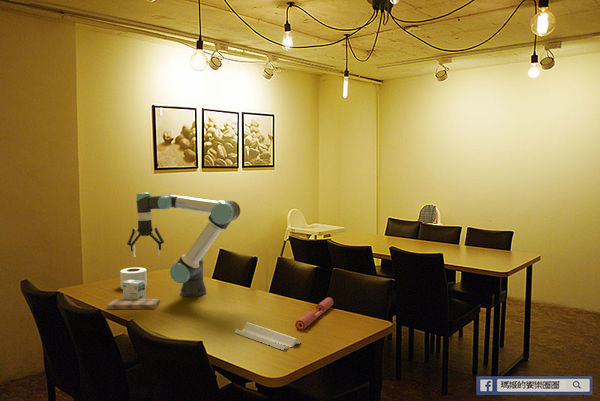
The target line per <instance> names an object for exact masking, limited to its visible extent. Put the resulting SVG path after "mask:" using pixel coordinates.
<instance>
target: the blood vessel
mask: <svg viewBox="0 0 600 401" xmlns="http://www.w3.org/2000/svg"><path fill="white" fill-rule="evenodd" d="M333 305H334V300H333V298H332V297H326V298H324V300H322V301H321V302H319V303H318V304H317V305H316V306H315V309H313V310H312V311H308V312H306V313H305V314H304V315H303V316H302V317H300V318H299V319H298V320H296V322H295V324H294V326H295V328H296V329H297V330H299V331H303V330H305V329H306V328H307V327H308V326H310V325H311V324H312V323H313V322H314V321H316V320H317V319H318V318H319V317H320V316H322V315H323V314H324V313H325V312H327V310H329V309H330V308H331V307H332V306H333Z"/></svg>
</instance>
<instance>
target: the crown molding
mask: <svg viewBox="0 0 600 401" xmlns="http://www.w3.org/2000/svg"><path fill="white" fill-rule="evenodd" d="M233 333H234V334H238V335H240V336H242V337H245V338H248V339H251V340H254V341H256V342H259V343H261V342H262V344H264V345H266V346H269V345H270V347H273V348H276V349H278V350H280V349H281V351H285V350H288V349H287V347H286V346H289V347H292V348H293V347H294V346H295V345H297V344H298V345H301V344H302V342H301V341H300V340H299V339H298V338H296V337H294V336H290V335H288V334H285V333H281V332H279V331H275V330H273V329H270V328H266V327H263V326H261V325H257V324H254V323H251V322H248V321H247V322H246V323H245V325H244V327H243V328H242V329H238V328H236V329H235V330H234V332H233ZM275 342H276V343H275ZM278 343H279V344H278ZM300 343H301V344H300ZM281 344H282V345H281ZM283 345H286V346H283ZM284 349H285V350H284Z"/></svg>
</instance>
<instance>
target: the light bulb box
mask: <svg viewBox="0 0 600 401" xmlns="http://www.w3.org/2000/svg"><path fill="white" fill-rule="evenodd" d="M122 299H147V296H146V287H145V281H139V280H127V281H124V282H123V289H122Z"/></svg>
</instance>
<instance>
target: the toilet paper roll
mask: <svg viewBox="0 0 600 401" xmlns="http://www.w3.org/2000/svg"><path fill="white" fill-rule="evenodd" d="M119 274H120V275H119V278H120V289H122V290H123V282H124V281H127V280H139V281H145V288H147V286H148V285H147V284H148V282H147V279H148V278H147V269H146V267H145V268H144V267H135V266H134V267H127V268H123V269H121V270H120V271H119Z"/></svg>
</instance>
